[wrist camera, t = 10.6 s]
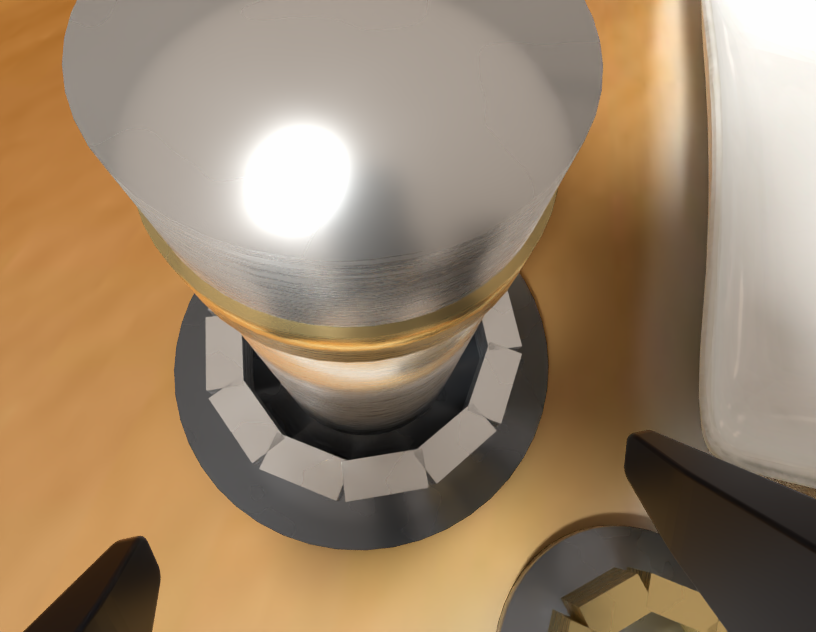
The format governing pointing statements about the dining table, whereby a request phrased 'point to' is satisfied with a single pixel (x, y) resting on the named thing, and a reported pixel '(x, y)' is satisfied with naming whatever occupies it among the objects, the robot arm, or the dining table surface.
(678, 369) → the dining table surface
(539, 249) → the dining table surface
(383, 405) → the cylinder
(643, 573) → the brass collar
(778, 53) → the square plate
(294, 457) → the collar
